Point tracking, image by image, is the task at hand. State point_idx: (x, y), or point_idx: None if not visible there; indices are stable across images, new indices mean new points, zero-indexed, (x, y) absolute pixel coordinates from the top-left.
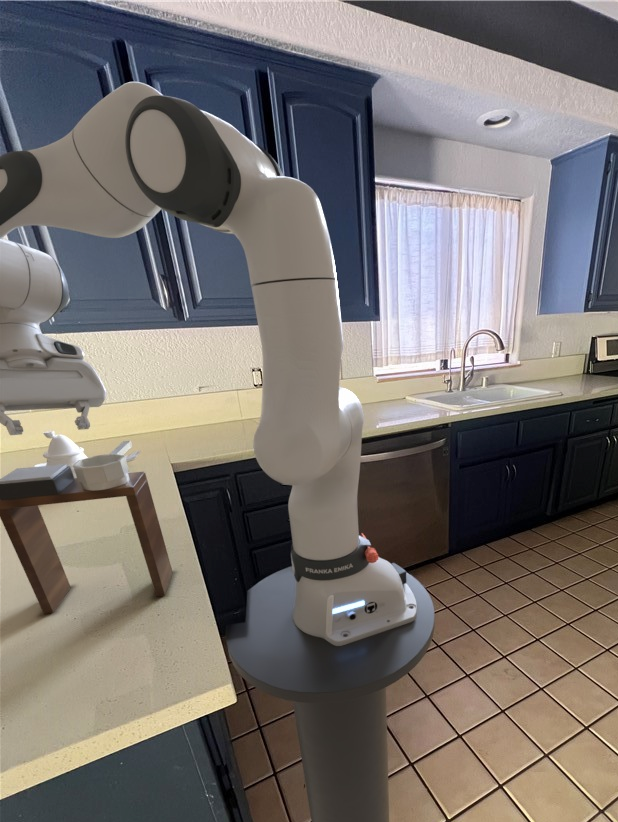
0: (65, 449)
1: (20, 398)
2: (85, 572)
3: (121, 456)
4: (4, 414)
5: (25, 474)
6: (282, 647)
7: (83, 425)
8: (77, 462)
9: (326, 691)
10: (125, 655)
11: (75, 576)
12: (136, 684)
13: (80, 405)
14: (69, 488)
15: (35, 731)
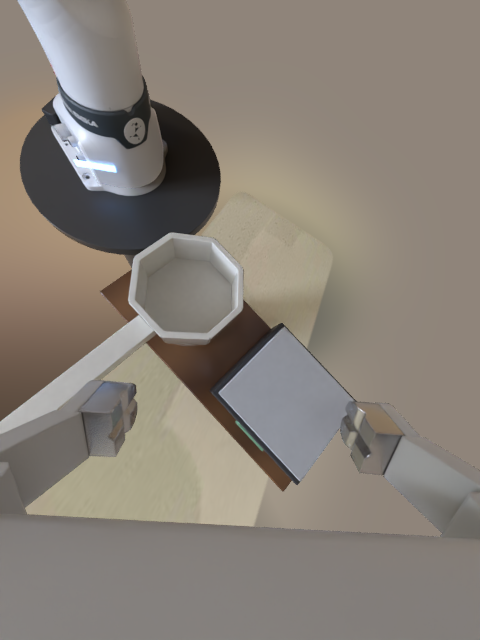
0: None
1: (438, 548)
2: (198, 442)
3: (140, 263)
4: (452, 466)
5: (307, 397)
6: (187, 181)
7: (122, 383)
8: (224, 321)
9: (207, 140)
10: (257, 268)
11: (210, 443)
12: (269, 237)
13: (2, 473)
14: (244, 342)
15: (319, 261)
